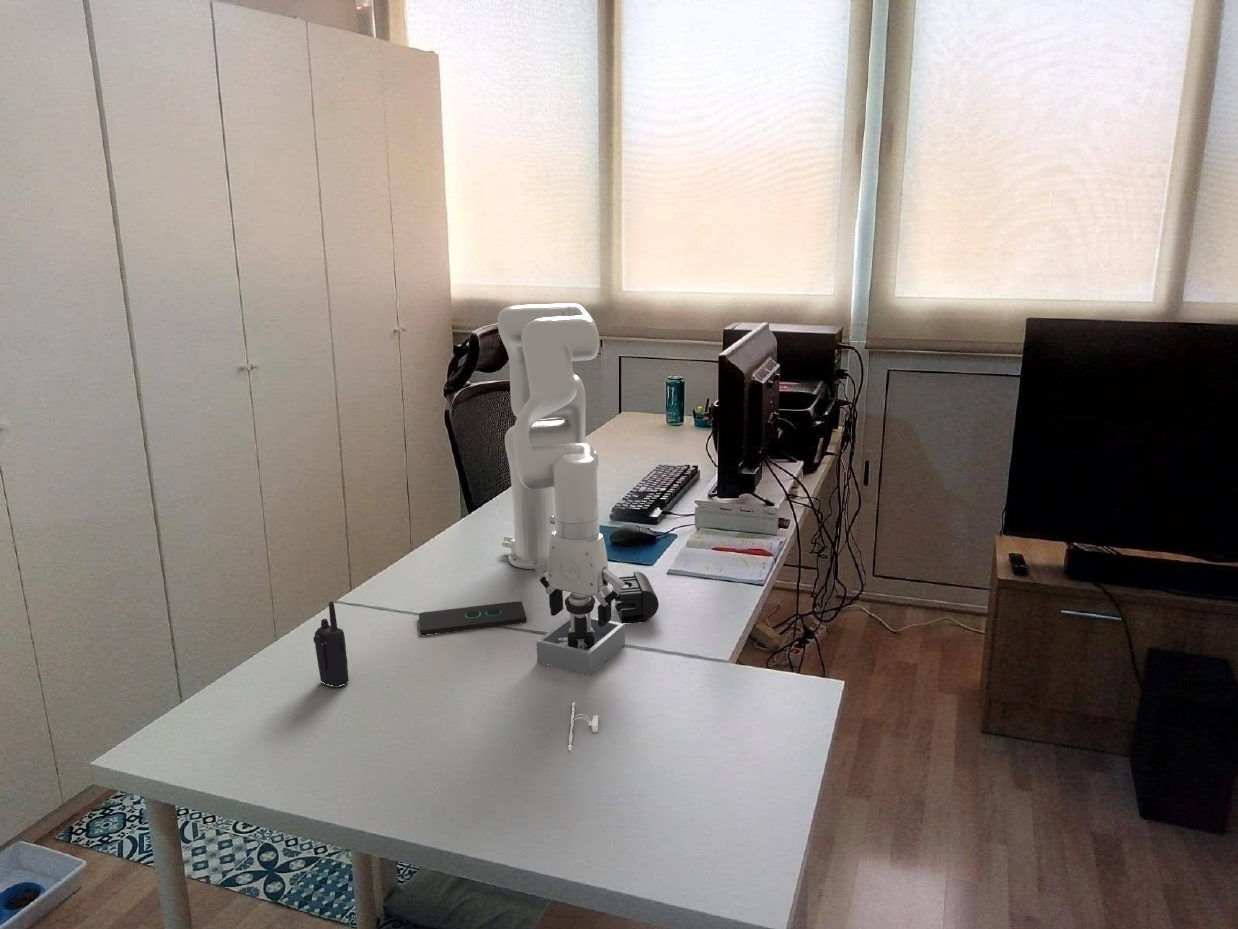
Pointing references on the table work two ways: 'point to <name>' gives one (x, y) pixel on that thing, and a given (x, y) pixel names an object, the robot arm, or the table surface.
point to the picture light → (593, 724)
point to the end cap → (636, 599)
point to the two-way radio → (331, 651)
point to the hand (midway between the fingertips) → (580, 618)
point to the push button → (580, 621)
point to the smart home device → (472, 618)
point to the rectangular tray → (580, 659)
